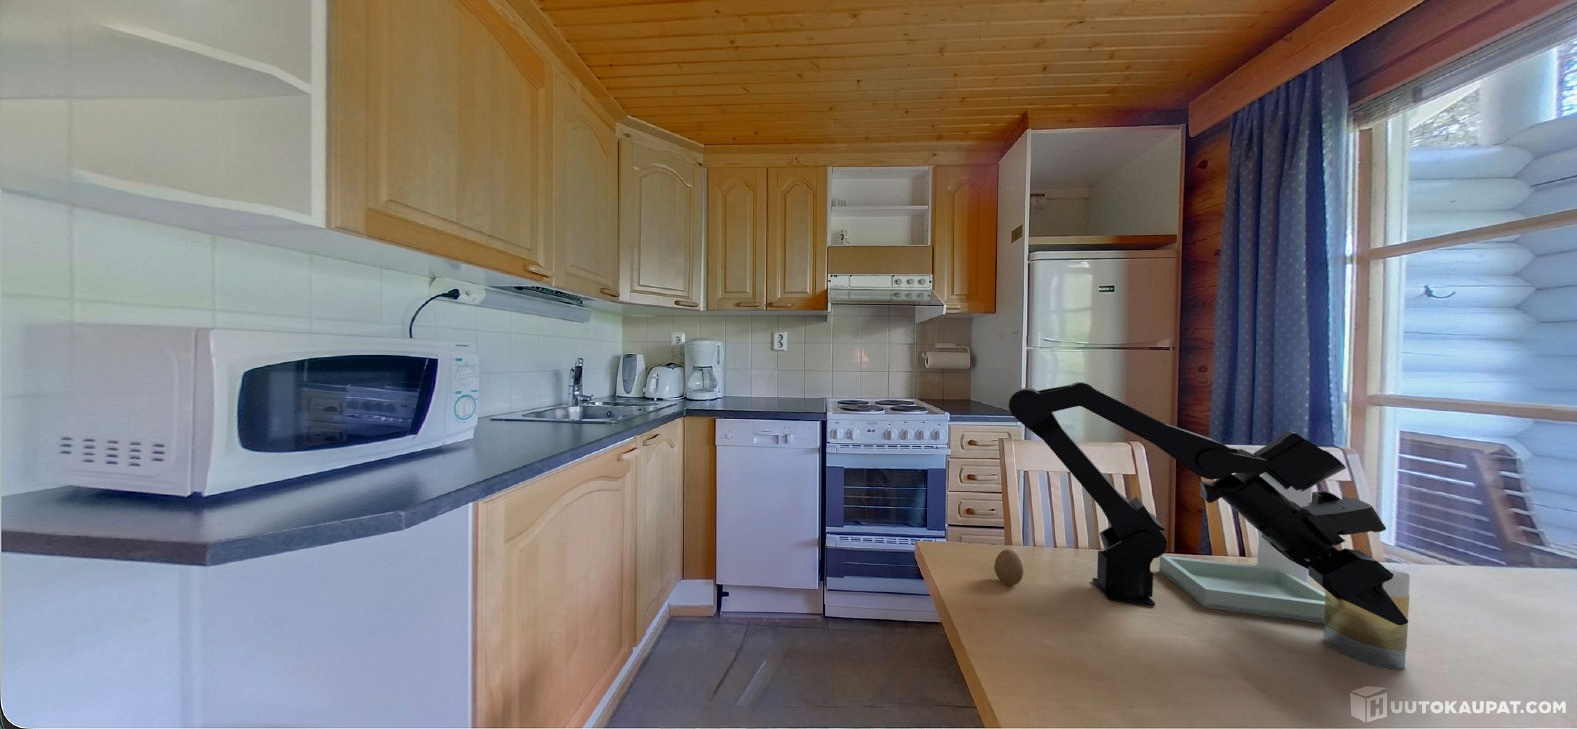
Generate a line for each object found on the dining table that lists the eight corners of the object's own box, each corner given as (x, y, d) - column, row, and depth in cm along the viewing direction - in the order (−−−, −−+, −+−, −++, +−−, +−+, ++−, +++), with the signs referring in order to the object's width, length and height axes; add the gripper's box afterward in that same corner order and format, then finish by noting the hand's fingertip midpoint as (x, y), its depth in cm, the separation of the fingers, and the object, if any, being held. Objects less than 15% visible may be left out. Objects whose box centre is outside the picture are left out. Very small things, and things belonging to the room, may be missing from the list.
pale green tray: (1205, 607, 68) (1205, 589, 68) (1159, 570, 79) (1160, 555, 79) (1350, 627, 63) (1351, 607, 63) (1279, 585, 75) (1280, 568, 75)
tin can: (1356, 664, 56) (1361, 573, 55) (1308, 632, 62) (1311, 551, 62) (1424, 674, 54) (1429, 581, 54) (1367, 640, 60) (1371, 557, 60)
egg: (994, 587, 72) (995, 552, 72) (993, 575, 77) (994, 542, 76) (1024, 593, 71) (1025, 558, 71) (1021, 580, 75) (1022, 547, 75)
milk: (1307, 587, 75) (1313, 463, 74) (1256, 572, 79) (1261, 456, 79) (1309, 576, 78) (1315, 458, 78) (1260, 563, 83) (1265, 452, 82)
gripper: (1370, 495, 52) (1524, 614, 46) (1293, 463, 67) (1400, 549, 62) (1274, 543, 56) (1404, 658, 50) (1222, 502, 72) (1317, 586, 66)
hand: (1380, 606), depth 57 cm, fingers open, 8 cm apart
